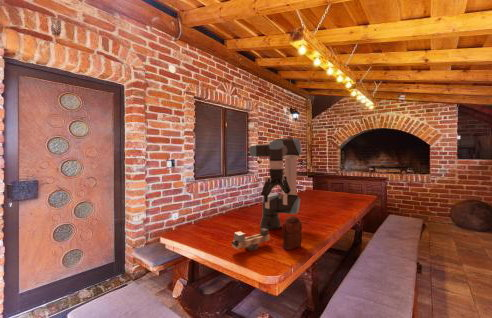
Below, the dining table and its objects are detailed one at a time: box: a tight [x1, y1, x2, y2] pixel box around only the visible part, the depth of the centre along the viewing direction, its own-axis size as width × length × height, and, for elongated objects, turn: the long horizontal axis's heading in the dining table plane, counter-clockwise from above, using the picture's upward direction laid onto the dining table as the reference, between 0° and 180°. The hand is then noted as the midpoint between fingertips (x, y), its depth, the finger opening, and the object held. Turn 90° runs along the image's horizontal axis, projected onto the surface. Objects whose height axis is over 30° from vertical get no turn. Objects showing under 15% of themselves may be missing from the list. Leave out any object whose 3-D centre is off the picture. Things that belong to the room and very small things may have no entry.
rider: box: [233, 230, 246, 242], centre depth 140 cm, size 4×5×5 cm
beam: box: [231, 228, 271, 252], centre depth 145 cm, size 23×6×9 cm, turn 124°
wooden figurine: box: [281, 215, 303, 250], centre depth 146 cm, size 12×6×18 cm, turn 123°
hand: (276, 206), depth 141 cm, fingers open, 13 cm apart
